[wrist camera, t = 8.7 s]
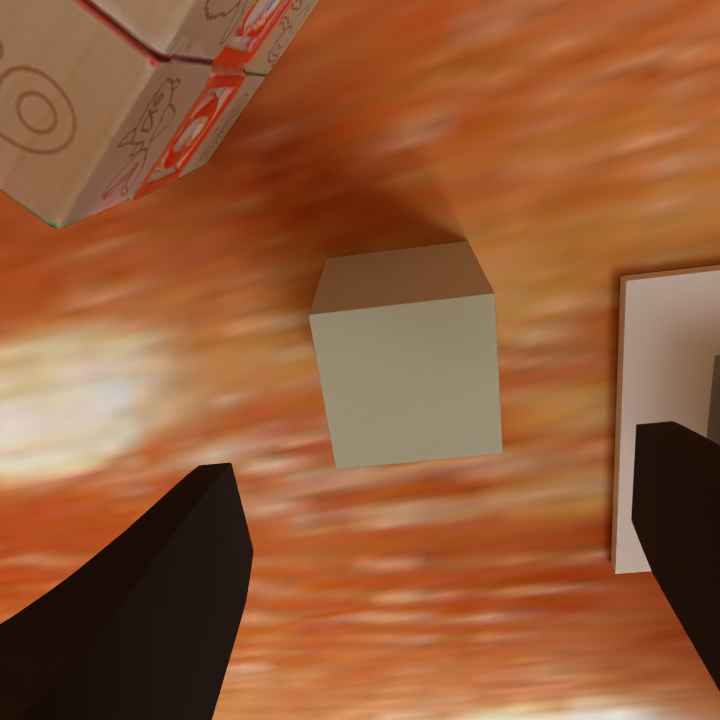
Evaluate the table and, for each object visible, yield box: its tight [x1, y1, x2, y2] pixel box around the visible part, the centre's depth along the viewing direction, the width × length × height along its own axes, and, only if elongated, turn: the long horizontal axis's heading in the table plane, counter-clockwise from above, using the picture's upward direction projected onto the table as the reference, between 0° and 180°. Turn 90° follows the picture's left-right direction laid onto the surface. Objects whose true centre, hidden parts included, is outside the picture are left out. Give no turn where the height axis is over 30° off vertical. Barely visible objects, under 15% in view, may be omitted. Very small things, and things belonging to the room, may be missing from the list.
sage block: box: [309, 241, 503, 469], centre depth 17 cm, size 4×4×5 cm
